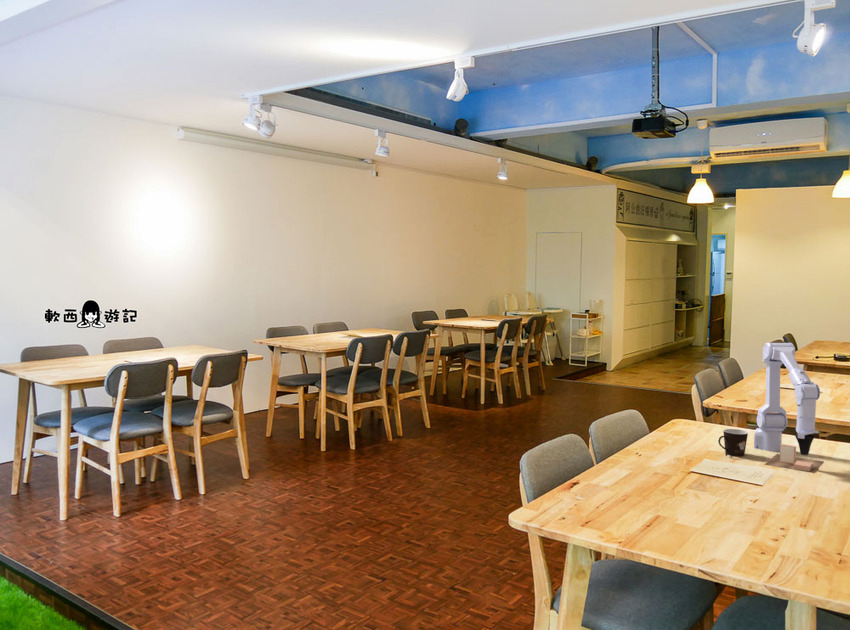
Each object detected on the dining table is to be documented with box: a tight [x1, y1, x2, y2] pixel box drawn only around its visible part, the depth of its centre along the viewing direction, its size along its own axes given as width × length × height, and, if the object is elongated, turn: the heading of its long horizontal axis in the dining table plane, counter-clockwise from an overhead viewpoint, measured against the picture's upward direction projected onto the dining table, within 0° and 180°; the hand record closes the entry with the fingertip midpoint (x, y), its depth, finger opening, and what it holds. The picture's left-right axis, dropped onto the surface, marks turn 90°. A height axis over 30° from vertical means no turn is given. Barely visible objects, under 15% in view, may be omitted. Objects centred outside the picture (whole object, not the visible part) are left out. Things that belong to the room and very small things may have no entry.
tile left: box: [779, 443, 797, 464], centre depth 249 cm, size 5×2×6 cm, turn 50°
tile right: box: [794, 460, 813, 472], centre depth 243 cm, size 5×2×6 cm
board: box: [763, 453, 825, 474], centre depth 250 cm, size 16×19×1 cm
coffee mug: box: [717, 428, 749, 458], centre depth 261 cm, size 12×9×10 cm
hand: (804, 454), depth 243 cm, fingers closed
